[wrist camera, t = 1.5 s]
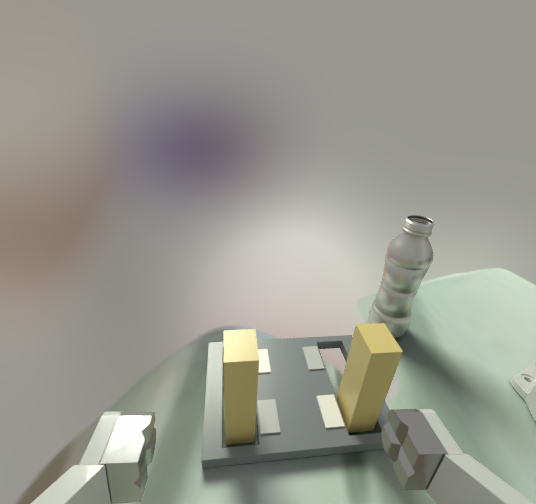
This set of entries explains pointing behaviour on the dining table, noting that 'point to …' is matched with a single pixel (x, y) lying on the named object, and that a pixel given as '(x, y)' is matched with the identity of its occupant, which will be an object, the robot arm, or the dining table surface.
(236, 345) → the yellow bar
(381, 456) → the dining table surface
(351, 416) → the yellow rectangular block
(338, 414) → the switch bank
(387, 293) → the plastic bottle
